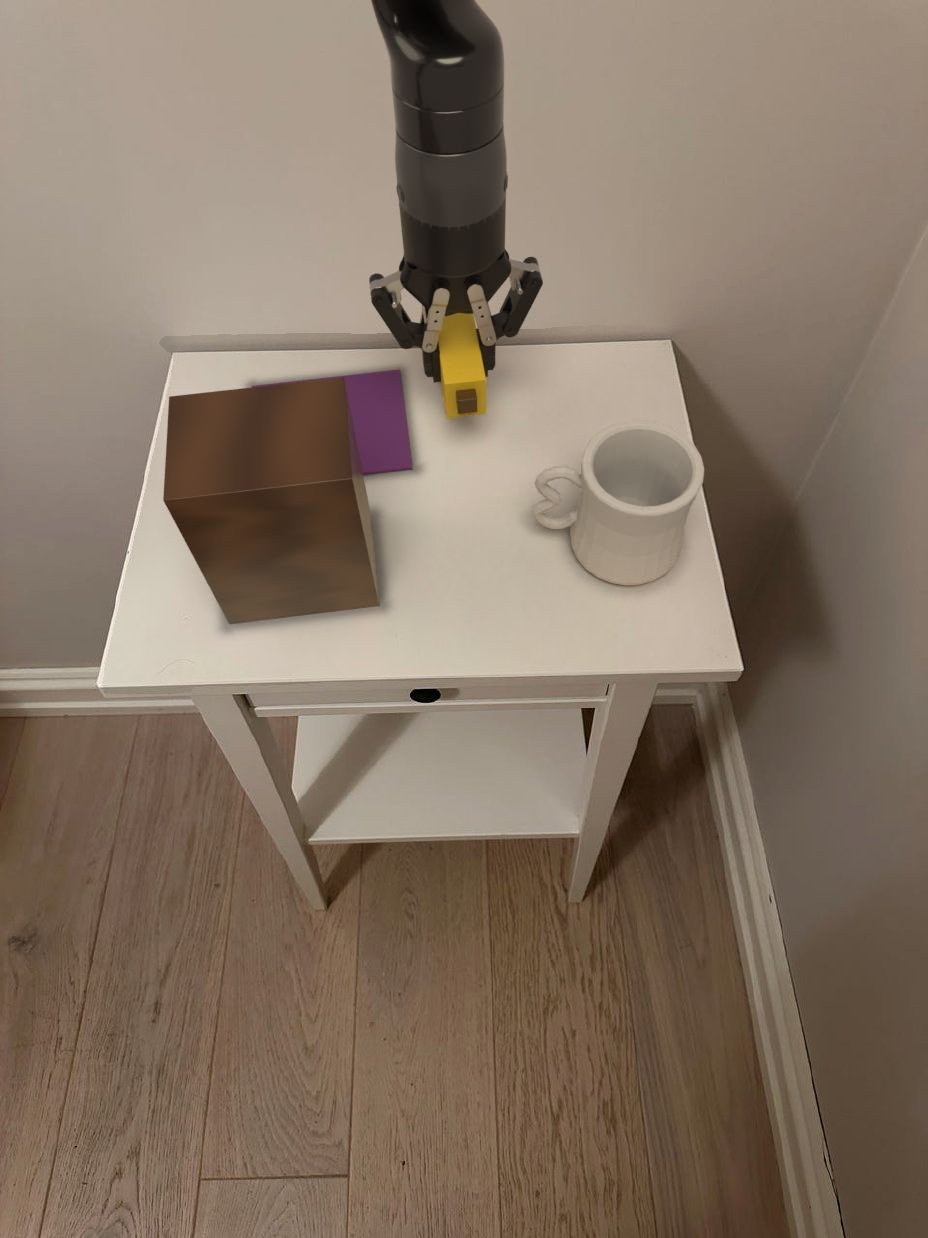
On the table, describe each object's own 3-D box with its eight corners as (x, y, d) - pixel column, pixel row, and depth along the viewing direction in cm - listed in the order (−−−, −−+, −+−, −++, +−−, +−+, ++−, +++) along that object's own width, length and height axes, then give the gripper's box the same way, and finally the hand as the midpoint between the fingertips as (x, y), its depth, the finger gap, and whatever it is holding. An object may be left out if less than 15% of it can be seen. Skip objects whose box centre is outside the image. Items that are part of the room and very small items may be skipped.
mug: (677, 502, 73) (703, 420, 64) (681, 593, 68) (710, 518, 60) (532, 494, 74) (538, 412, 65) (526, 583, 69) (532, 509, 61)
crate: (229, 624, 68) (162, 500, 54) (229, 532, 72) (168, 396, 59) (379, 605, 69) (352, 478, 55) (371, 515, 73) (344, 376, 59)
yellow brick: (433, 337, 77) (430, 301, 74) (470, 333, 77) (470, 297, 74) (448, 429, 72) (446, 394, 68) (488, 424, 72) (488, 390, 69)
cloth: (253, 487, 75) (252, 485, 74) (252, 387, 81) (251, 385, 80) (412, 469, 75) (412, 467, 75) (400, 371, 81) (399, 369, 81)
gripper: (543, 145, 61) (532, 334, 76) (346, 165, 61) (374, 351, 76) (562, 211, 58) (547, 395, 73) (353, 233, 57) (381, 414, 72)
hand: (459, 372), depth 74 cm, fingers closed on yellow brick, 3 cm apart
